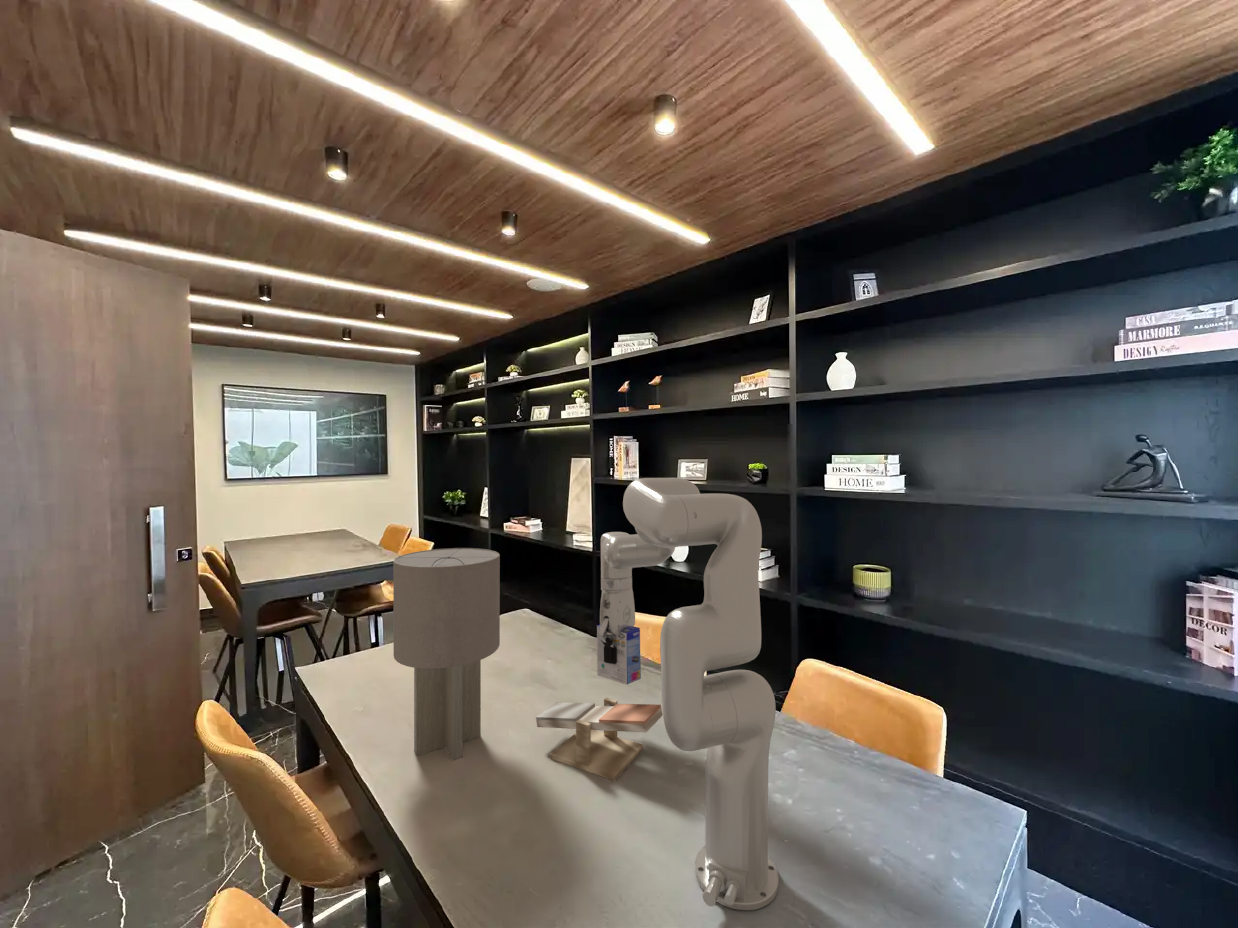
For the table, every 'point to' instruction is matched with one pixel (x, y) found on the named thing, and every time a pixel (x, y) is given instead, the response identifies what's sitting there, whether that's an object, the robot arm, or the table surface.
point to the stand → (597, 750)
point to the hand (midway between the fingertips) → (617, 657)
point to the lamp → (446, 639)
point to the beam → (601, 716)
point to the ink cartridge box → (621, 657)
